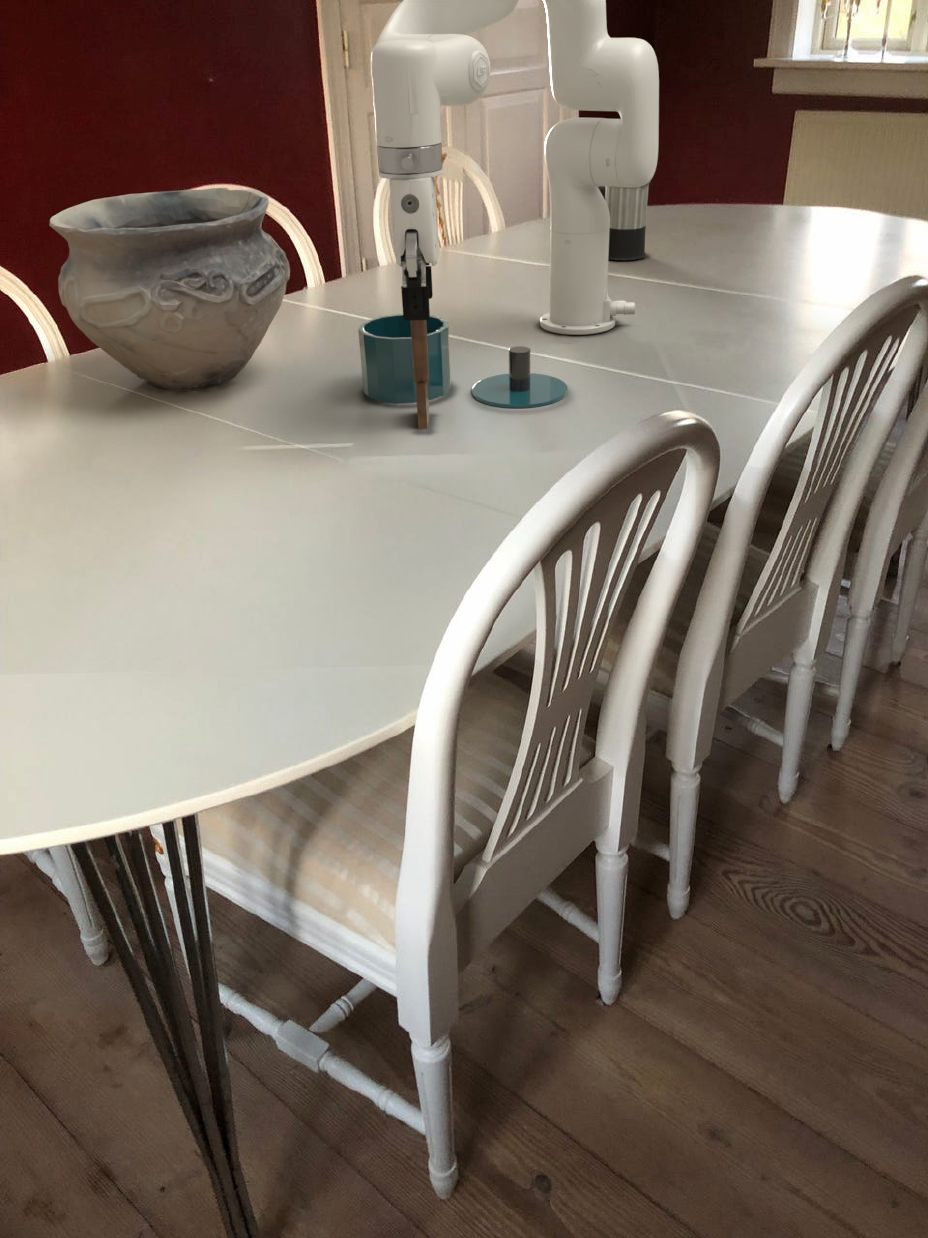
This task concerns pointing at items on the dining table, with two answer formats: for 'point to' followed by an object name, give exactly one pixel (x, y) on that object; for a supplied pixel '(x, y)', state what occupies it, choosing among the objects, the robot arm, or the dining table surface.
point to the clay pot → (173, 281)
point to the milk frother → (626, 221)
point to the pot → (402, 359)
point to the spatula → (420, 370)
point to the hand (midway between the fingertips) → (418, 308)
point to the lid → (519, 385)
